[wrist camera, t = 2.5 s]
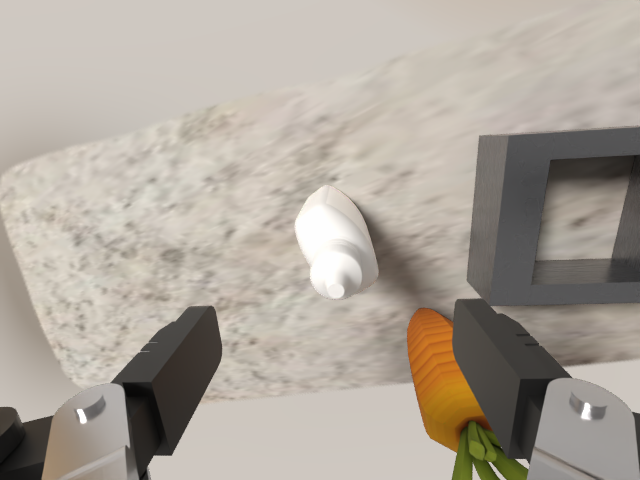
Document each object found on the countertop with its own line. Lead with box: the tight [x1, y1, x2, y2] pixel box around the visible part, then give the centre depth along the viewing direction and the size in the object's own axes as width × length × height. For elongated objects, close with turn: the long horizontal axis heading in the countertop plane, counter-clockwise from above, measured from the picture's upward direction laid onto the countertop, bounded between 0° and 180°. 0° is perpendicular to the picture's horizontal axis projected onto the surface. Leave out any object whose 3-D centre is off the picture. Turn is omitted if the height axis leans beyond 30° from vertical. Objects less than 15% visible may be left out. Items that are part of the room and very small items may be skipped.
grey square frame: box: [467, 126, 640, 306], centre depth 21 cm, size 13×11×4 cm
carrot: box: [407, 308, 529, 480], centre depth 19 cm, size 5×5×15 cm
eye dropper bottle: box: [295, 185, 379, 300], centre depth 19 cm, size 4×6×12 cm
